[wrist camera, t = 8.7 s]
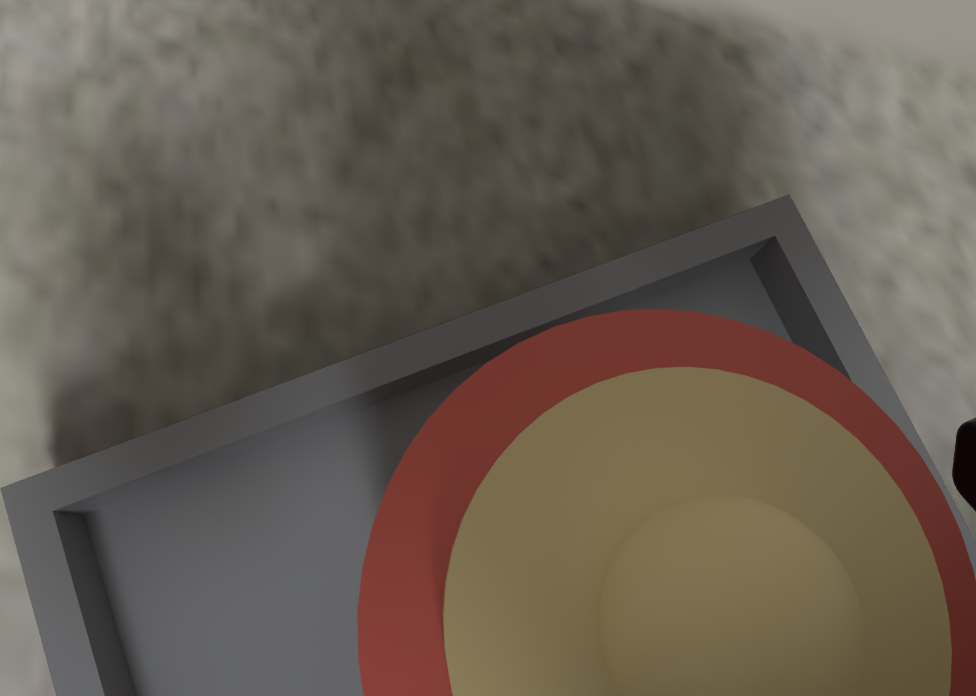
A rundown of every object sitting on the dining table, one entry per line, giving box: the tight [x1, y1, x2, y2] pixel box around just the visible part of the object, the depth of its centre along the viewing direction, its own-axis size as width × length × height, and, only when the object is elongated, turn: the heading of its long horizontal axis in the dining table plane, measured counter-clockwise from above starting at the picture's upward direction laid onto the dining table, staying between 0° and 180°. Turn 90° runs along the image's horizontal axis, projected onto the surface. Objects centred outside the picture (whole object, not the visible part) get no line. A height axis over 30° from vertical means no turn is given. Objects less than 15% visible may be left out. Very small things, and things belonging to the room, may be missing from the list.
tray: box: [1, 195, 976, 696], centre depth 17 cm, size 11×18×2 cm, turn 112°
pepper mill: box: [357, 309, 976, 696], centre depth 11 cm, size 5×5×13 cm
